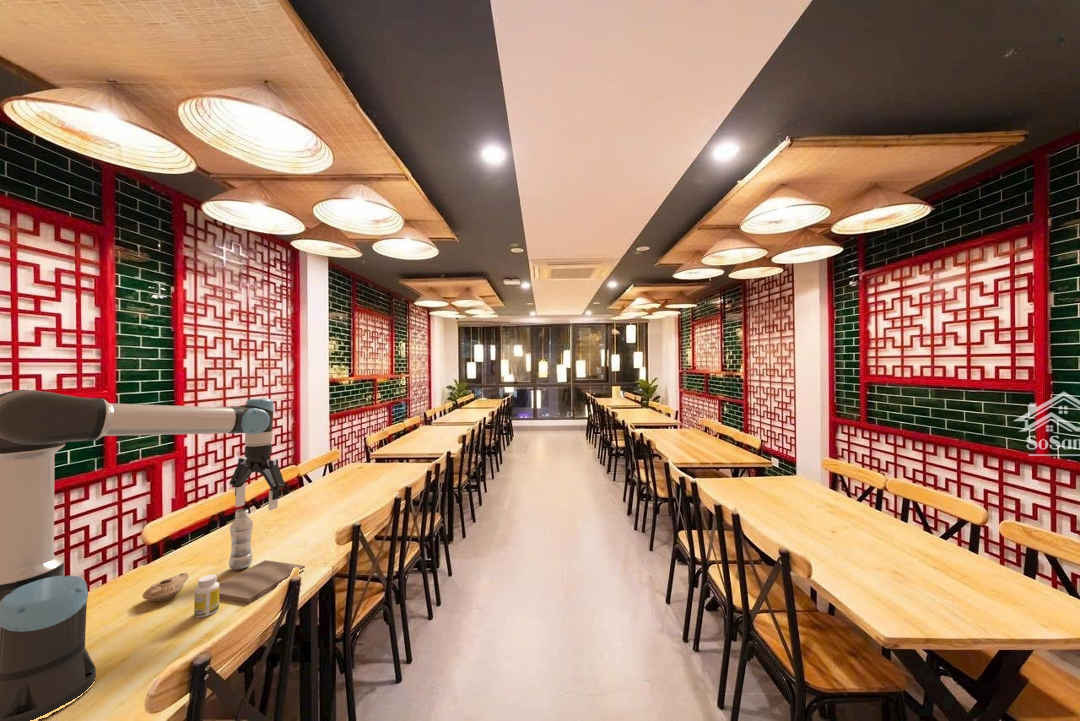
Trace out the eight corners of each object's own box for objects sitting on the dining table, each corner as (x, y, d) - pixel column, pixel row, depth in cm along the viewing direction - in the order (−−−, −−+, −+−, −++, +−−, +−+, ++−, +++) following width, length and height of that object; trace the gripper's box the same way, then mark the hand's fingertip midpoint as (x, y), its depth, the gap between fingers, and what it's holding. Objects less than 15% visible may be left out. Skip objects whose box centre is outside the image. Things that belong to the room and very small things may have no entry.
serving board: (249, 603, 114) (249, 598, 114) (204, 596, 118) (205, 591, 118) (304, 570, 134) (304, 565, 134) (265, 564, 137) (265, 560, 137)
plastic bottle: (239, 573, 131) (241, 514, 132) (223, 571, 132) (225, 513, 133) (257, 564, 137) (258, 508, 138) (241, 562, 139) (242, 506, 139)
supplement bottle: (218, 604, 114) (219, 570, 114) (219, 612, 110) (220, 578, 110) (194, 611, 110) (195, 577, 111) (193, 621, 106) (194, 585, 107)
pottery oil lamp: (200, 581, 126) (202, 565, 124) (164, 615, 114) (165, 599, 112) (173, 572, 125) (175, 557, 123) (134, 606, 114) (135, 589, 112)
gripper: (298, 443, 132) (296, 506, 131) (239, 440, 137) (237, 501, 136) (279, 447, 124) (277, 514, 123) (218, 444, 130) (215, 508, 129)
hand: (256, 507), depth 130 cm, fingers open, 13 cm apart
